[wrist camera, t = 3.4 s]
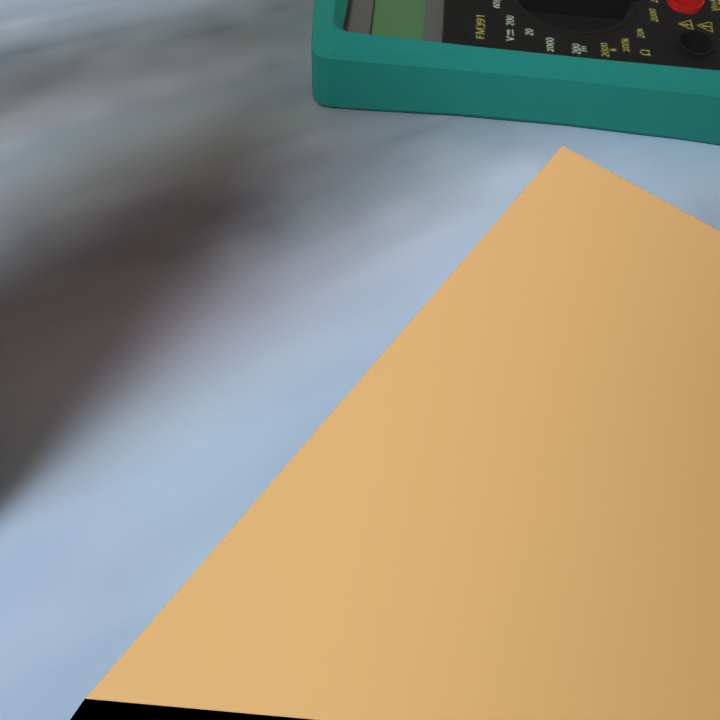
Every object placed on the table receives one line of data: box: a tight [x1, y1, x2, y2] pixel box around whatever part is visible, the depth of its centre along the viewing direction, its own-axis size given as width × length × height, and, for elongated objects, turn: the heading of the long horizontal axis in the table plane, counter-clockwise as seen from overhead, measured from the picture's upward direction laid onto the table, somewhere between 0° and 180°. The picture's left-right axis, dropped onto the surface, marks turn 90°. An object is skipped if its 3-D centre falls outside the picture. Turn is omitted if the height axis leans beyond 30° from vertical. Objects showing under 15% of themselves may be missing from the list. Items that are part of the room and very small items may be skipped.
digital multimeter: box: [311, 0, 720, 145], centre depth 21 cm, size 7×15×3 cm, turn 85°
